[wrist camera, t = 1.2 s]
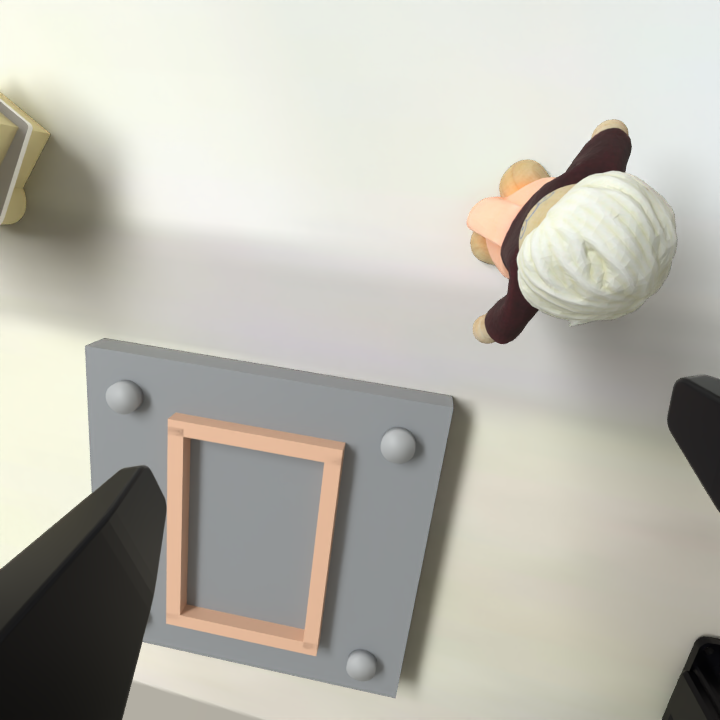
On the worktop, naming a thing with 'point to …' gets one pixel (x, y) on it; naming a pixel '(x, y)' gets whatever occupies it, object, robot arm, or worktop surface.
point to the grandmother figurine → (573, 239)
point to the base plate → (275, 506)
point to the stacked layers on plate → (17, 157)
